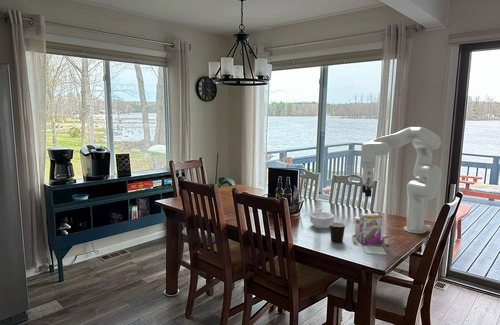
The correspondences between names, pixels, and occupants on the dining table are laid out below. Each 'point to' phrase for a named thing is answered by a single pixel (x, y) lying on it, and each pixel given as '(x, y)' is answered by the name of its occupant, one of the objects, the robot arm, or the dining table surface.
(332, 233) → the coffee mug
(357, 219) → the dispenser
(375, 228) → the candy bar box
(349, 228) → the dining table surface
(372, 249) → the pad
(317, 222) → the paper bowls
